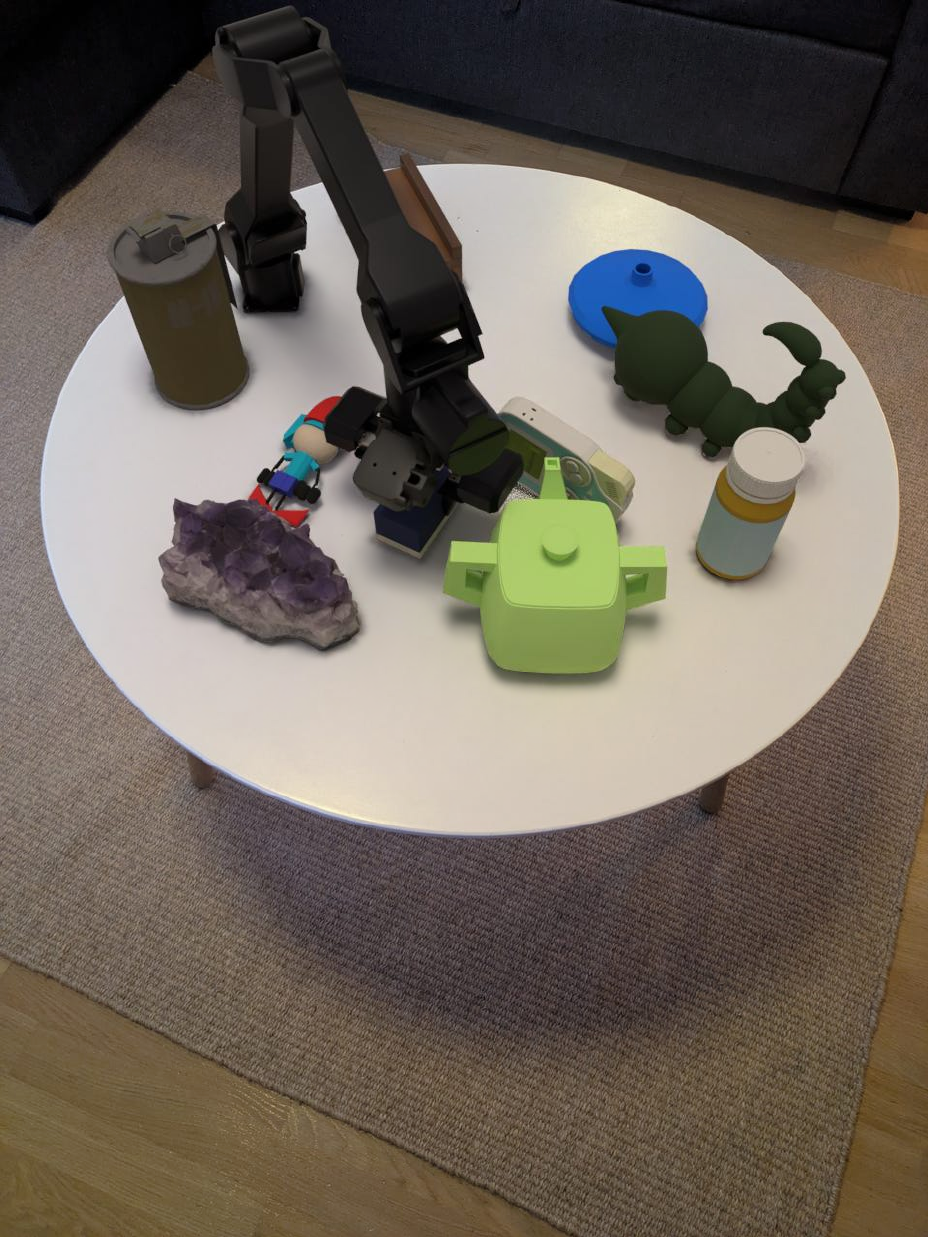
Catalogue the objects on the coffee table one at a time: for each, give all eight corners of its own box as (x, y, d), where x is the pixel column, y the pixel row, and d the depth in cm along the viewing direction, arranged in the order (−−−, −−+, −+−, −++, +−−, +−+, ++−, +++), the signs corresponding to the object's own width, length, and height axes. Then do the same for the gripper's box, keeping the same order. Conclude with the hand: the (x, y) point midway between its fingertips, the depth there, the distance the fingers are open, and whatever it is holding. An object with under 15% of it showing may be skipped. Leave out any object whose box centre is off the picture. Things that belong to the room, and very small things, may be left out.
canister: (187, 425, 108) (134, 274, 90) (137, 371, 112) (77, 217, 94) (271, 377, 111) (235, 223, 94) (219, 326, 115) (176, 170, 98)
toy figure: (307, 538, 102) (379, 423, 106) (292, 514, 97) (368, 395, 102) (247, 513, 104) (320, 402, 109) (230, 488, 100) (307, 373, 104)
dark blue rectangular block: (420, 559, 99) (418, 532, 95) (376, 539, 100) (373, 511, 96) (473, 481, 103) (473, 453, 100) (431, 463, 105) (430, 434, 101)
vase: (709, 282, 119) (722, 232, 112) (694, 378, 111) (707, 329, 105) (578, 262, 120) (584, 211, 114) (554, 355, 113) (559, 306, 107)
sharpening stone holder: (390, 309, 116) (386, 265, 111) (343, 215, 125) (337, 169, 120) (462, 290, 118) (462, 245, 113) (411, 198, 127) (408, 152, 121)
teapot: (449, 519, 101) (446, 432, 90) (648, 523, 101) (670, 436, 89) (441, 682, 92) (437, 607, 80) (660, 687, 91) (687, 613, 80)
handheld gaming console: (602, 552, 101) (481, 473, 104) (616, 533, 103) (496, 455, 105) (630, 491, 91) (496, 405, 94) (646, 471, 93) (513, 387, 95)
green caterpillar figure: (802, 457, 107) (612, 337, 113) (879, 331, 90) (650, 198, 96) (757, 513, 103) (563, 386, 109) (828, 392, 86) (594, 250, 93)
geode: (391, 577, 98) (380, 529, 88) (336, 680, 94) (319, 641, 84) (211, 503, 101) (183, 449, 92) (151, 599, 97) (115, 553, 88)
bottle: (771, 535, 100) (816, 434, 87) (759, 591, 96) (803, 495, 84) (703, 516, 101) (737, 414, 88) (687, 571, 98) (720, 474, 85)
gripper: (277, 415, 86) (303, 523, 99) (468, 498, 81) (468, 600, 95) (347, 333, 91) (362, 447, 104) (530, 408, 86) (522, 516, 100)
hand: (425, 502), depth 101 cm, fingers closed on dark blue rectangular block, 5 cm apart
